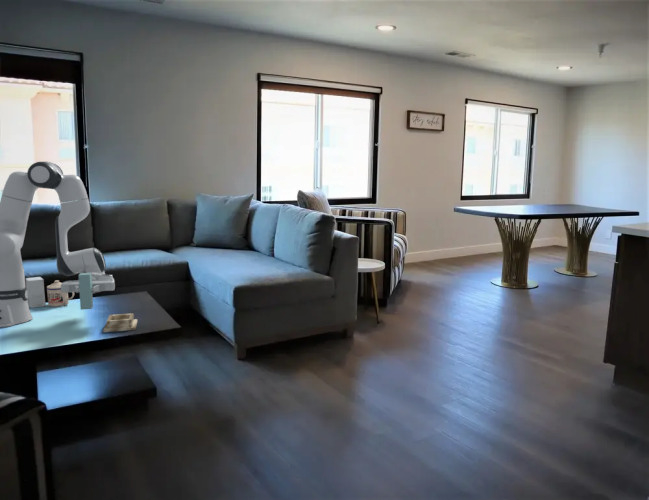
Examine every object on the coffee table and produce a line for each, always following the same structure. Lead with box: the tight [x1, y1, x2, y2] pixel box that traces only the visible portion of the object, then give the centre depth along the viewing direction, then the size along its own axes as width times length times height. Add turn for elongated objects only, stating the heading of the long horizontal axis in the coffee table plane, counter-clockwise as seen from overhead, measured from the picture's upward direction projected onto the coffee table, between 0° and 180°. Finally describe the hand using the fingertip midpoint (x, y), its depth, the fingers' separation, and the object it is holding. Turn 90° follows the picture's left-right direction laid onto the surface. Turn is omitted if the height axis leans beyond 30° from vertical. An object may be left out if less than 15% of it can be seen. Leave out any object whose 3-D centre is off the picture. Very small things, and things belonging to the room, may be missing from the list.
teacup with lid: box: [46, 279, 75, 308], centre depth 242 cm, size 12×9×12 cm
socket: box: [102, 312, 138, 333], centre depth 209 cm, size 12×12×4 cm
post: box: [78, 272, 94, 311], centre depth 203 cm, size 4×4×14 cm
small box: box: [25, 276, 46, 309], centre depth 240 cm, size 8×6×13 cm
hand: (85, 290), depth 202 cm, fingers closed on post, 4 cm apart
